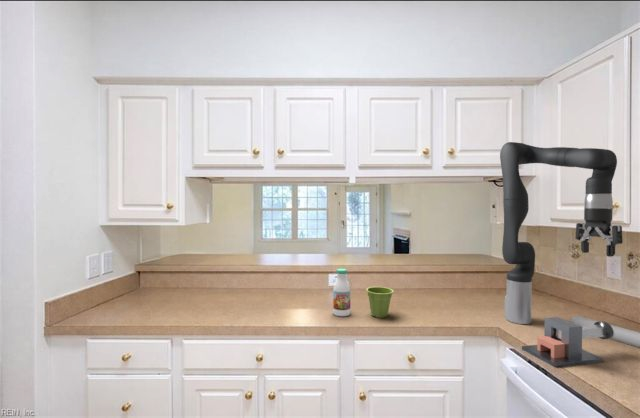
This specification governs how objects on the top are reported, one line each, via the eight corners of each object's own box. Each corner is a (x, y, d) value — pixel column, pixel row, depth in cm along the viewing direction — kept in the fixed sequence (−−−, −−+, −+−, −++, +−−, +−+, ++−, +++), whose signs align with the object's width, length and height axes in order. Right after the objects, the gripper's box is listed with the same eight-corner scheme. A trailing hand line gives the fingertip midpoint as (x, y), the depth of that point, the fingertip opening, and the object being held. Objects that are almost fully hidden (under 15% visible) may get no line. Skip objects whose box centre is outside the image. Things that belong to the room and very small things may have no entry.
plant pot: (374, 321, 143) (375, 294, 143) (361, 312, 154) (361, 288, 154) (398, 317, 147) (398, 291, 147) (383, 309, 158) (384, 285, 158)
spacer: (537, 349, 113) (537, 337, 113) (547, 348, 114) (547, 336, 114) (554, 358, 107) (554, 345, 107) (564, 357, 108) (564, 343, 108)
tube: (566, 317, 137) (644, 339, 114) (574, 311, 139) (653, 332, 116) (569, 329, 138) (647, 354, 115) (577, 323, 140) (656, 346, 117)
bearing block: (521, 349, 116) (522, 317, 116) (566, 344, 120) (566, 314, 119) (555, 367, 103) (555, 331, 103) (603, 361, 107) (604, 327, 107)
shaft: (552, 339, 114) (552, 322, 114) (596, 335, 118) (596, 319, 118) (567, 346, 109) (567, 328, 108) (613, 341, 112) (613, 324, 112)
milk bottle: (330, 312, 155) (330, 268, 154) (346, 310, 157) (346, 267, 157) (337, 317, 148) (337, 271, 147) (353, 315, 150) (353, 270, 150)
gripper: (570, 207, 123) (569, 251, 124) (610, 207, 109) (609, 258, 110) (587, 207, 125) (586, 251, 125) (629, 207, 111) (628, 257, 111)
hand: (597, 254), depth 117 cm, fingers open, 8 cm apart
